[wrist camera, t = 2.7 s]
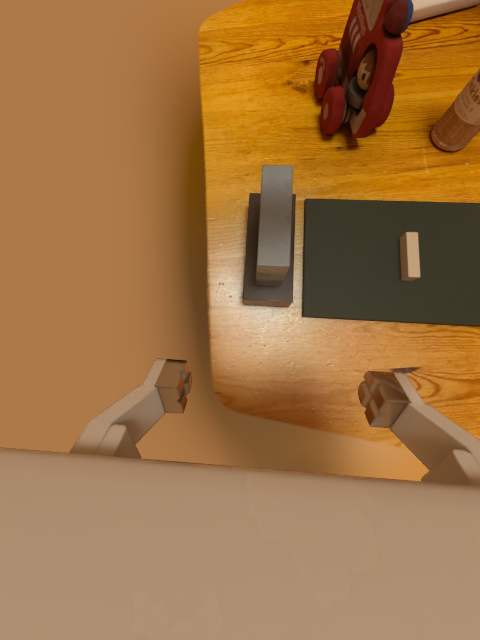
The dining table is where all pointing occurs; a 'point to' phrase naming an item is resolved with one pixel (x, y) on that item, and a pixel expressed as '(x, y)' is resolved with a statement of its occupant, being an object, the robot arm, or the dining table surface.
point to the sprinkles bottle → (459, 119)
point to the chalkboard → (391, 261)
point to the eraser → (271, 240)
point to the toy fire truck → (363, 67)
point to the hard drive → (438, 7)
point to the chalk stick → (409, 256)
